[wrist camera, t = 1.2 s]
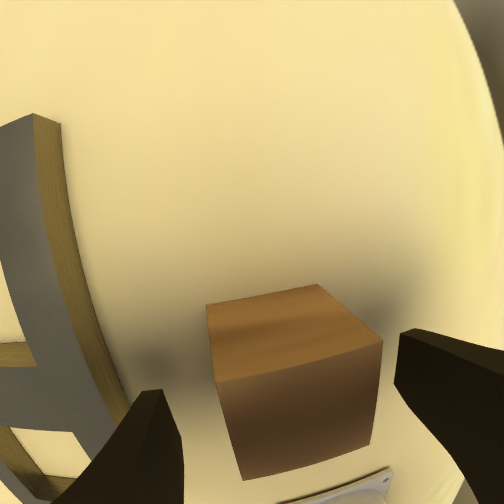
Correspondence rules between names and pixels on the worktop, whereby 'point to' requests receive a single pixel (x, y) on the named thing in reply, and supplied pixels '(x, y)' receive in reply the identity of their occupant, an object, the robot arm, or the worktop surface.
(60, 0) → the worktop surface
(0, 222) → the socket plate
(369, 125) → the worktop surface
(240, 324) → the square peg
